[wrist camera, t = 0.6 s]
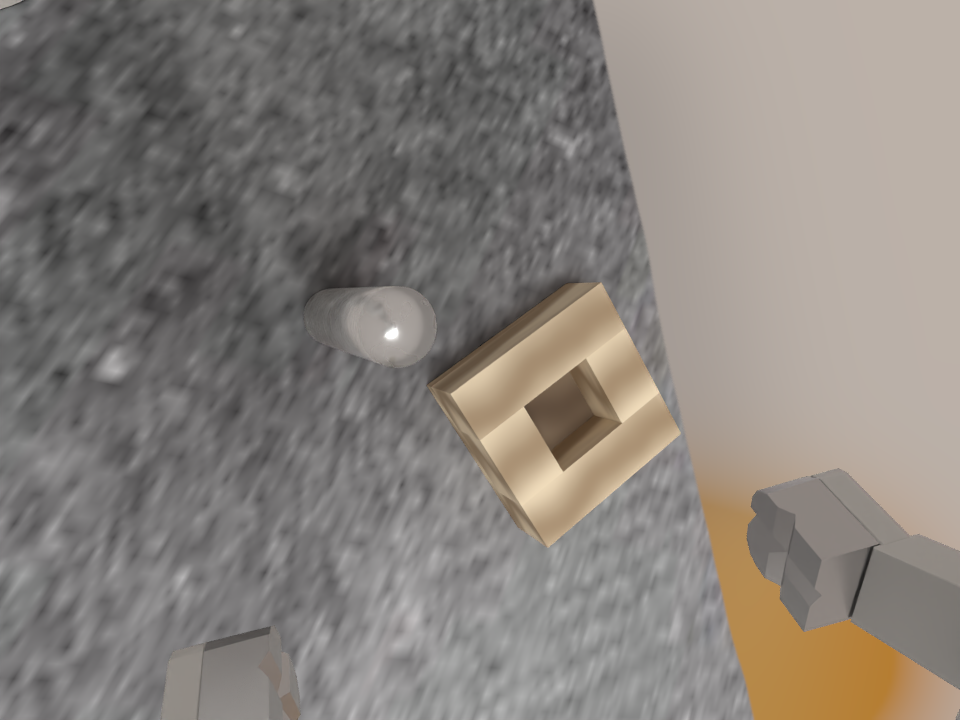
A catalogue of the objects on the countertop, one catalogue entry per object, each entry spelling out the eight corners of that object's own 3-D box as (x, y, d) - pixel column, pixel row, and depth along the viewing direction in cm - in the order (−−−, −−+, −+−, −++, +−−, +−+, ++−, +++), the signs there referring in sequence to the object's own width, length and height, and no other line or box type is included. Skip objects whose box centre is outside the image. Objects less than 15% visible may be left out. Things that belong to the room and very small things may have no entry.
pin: (291, 308, 48) (341, 315, 34) (340, 277, 49) (409, 270, 35) (324, 357, 50) (387, 383, 35) (371, 325, 51) (451, 338, 36)
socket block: (426, 385, 53) (450, 393, 48) (566, 283, 56) (601, 282, 52) (517, 527, 57) (547, 547, 52) (642, 422, 61) (680, 433, 56)
